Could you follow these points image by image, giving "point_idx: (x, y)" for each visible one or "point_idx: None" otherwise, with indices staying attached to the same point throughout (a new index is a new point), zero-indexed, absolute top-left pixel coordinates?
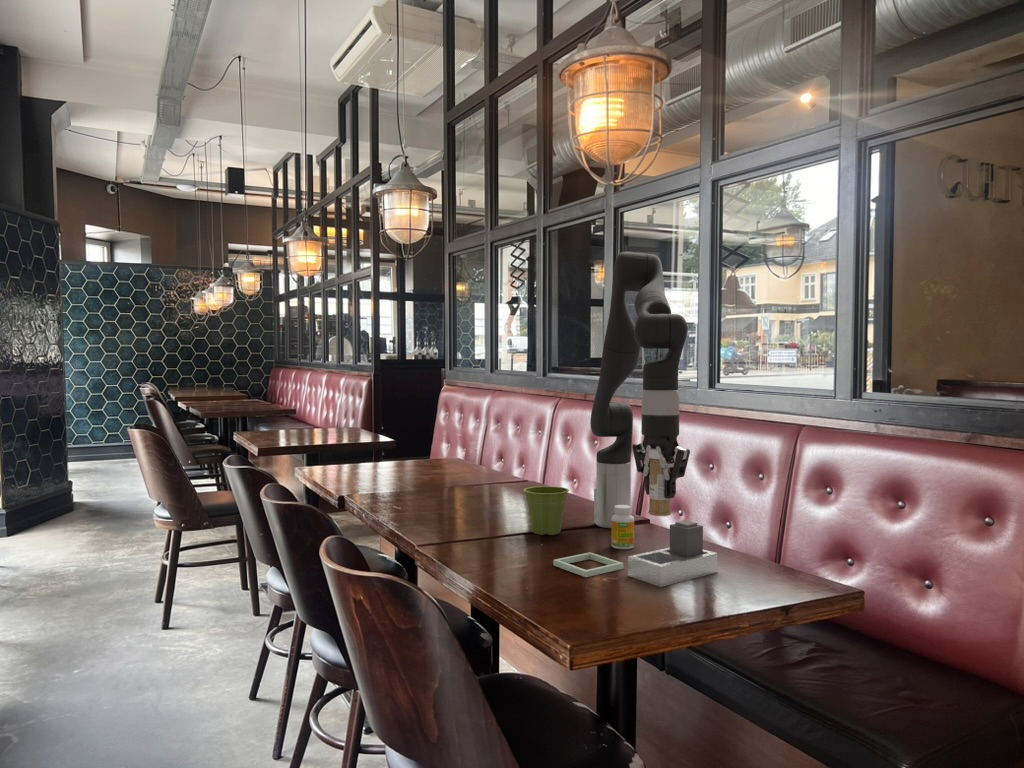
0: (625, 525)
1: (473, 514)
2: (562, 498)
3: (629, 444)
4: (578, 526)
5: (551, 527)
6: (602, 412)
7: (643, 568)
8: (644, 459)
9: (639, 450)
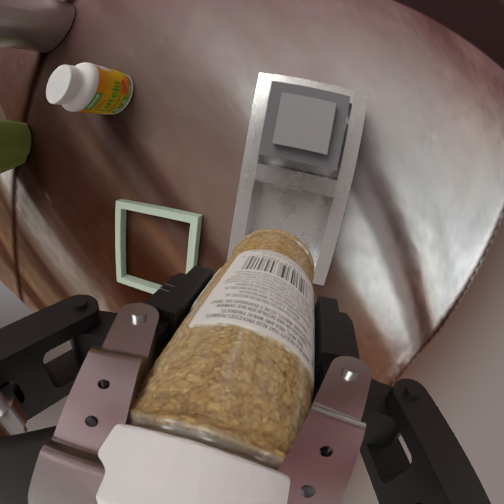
0: (97, 98)
1: None
2: None
3: None
4: (30, 79)
5: (21, 151)
6: None
7: None
8: (41, 358)
9: (21, 432)
